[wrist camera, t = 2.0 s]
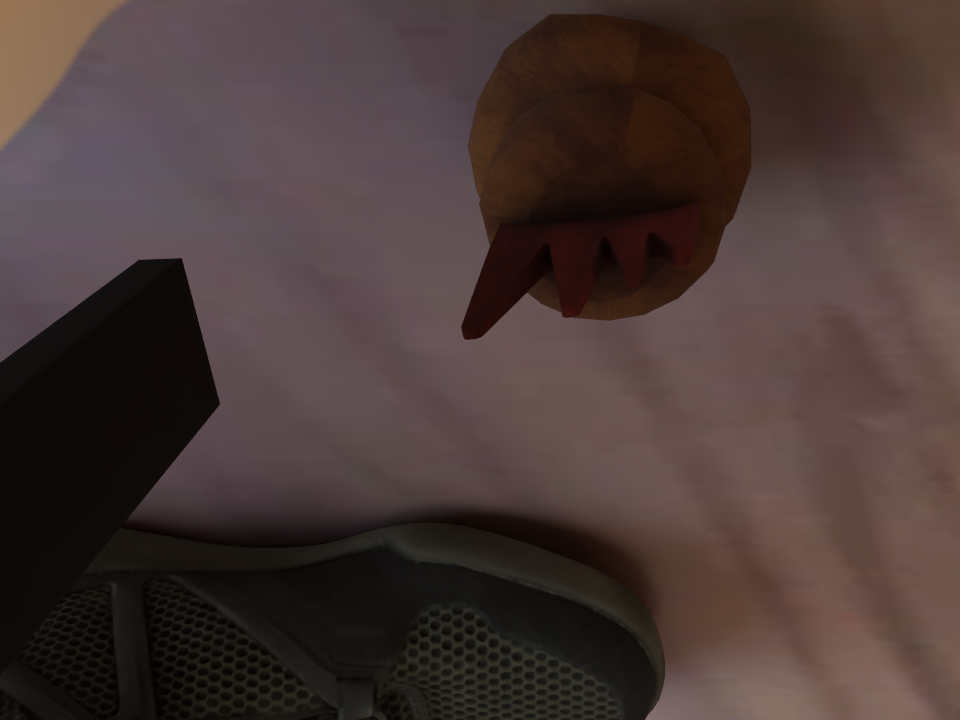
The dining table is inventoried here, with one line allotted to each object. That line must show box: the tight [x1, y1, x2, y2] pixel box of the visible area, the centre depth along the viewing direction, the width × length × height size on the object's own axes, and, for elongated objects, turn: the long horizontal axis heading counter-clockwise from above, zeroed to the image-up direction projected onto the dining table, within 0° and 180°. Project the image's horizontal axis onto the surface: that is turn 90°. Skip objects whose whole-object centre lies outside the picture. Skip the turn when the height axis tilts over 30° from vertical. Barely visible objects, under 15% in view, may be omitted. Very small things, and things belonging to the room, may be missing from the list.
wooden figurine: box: [461, 14, 751, 340], centre depth 20 cm, size 7×6×15 cm
